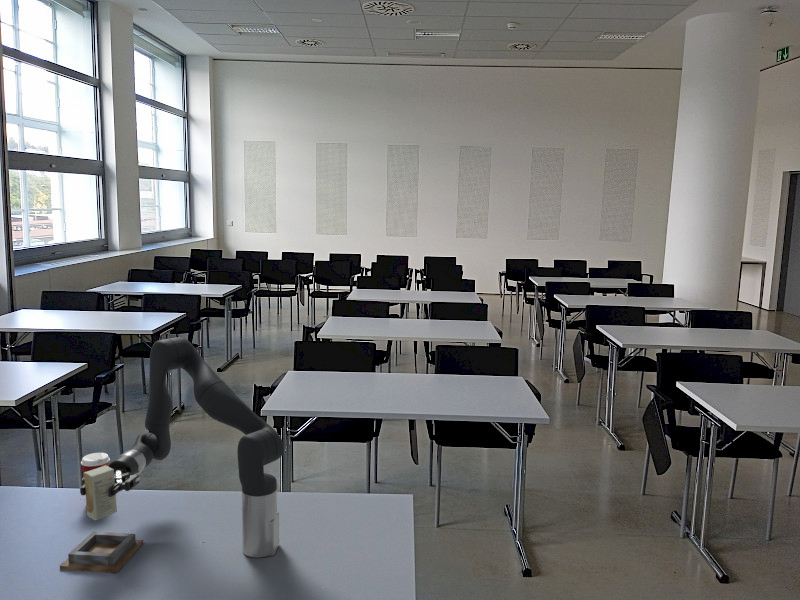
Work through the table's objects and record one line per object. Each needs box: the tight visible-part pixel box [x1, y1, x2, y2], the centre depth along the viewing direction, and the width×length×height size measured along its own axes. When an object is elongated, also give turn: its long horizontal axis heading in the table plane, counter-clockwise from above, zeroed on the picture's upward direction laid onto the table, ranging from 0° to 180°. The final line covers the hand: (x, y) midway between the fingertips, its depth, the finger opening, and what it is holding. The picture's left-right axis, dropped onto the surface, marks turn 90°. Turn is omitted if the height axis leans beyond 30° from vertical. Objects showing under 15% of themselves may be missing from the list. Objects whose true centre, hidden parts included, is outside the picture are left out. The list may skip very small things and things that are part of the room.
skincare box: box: [83, 465, 118, 521], centre depth 174 cm, size 6×4×12 cm
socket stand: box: [59, 530, 145, 574], centre depth 176 cm, size 15×15×4 cm
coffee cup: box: [80, 452, 111, 478], centre depth 206 cm, size 8×8×15 cm
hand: (95, 492), depth 172 cm, fingers closed on skincare box, 7 cm apart
